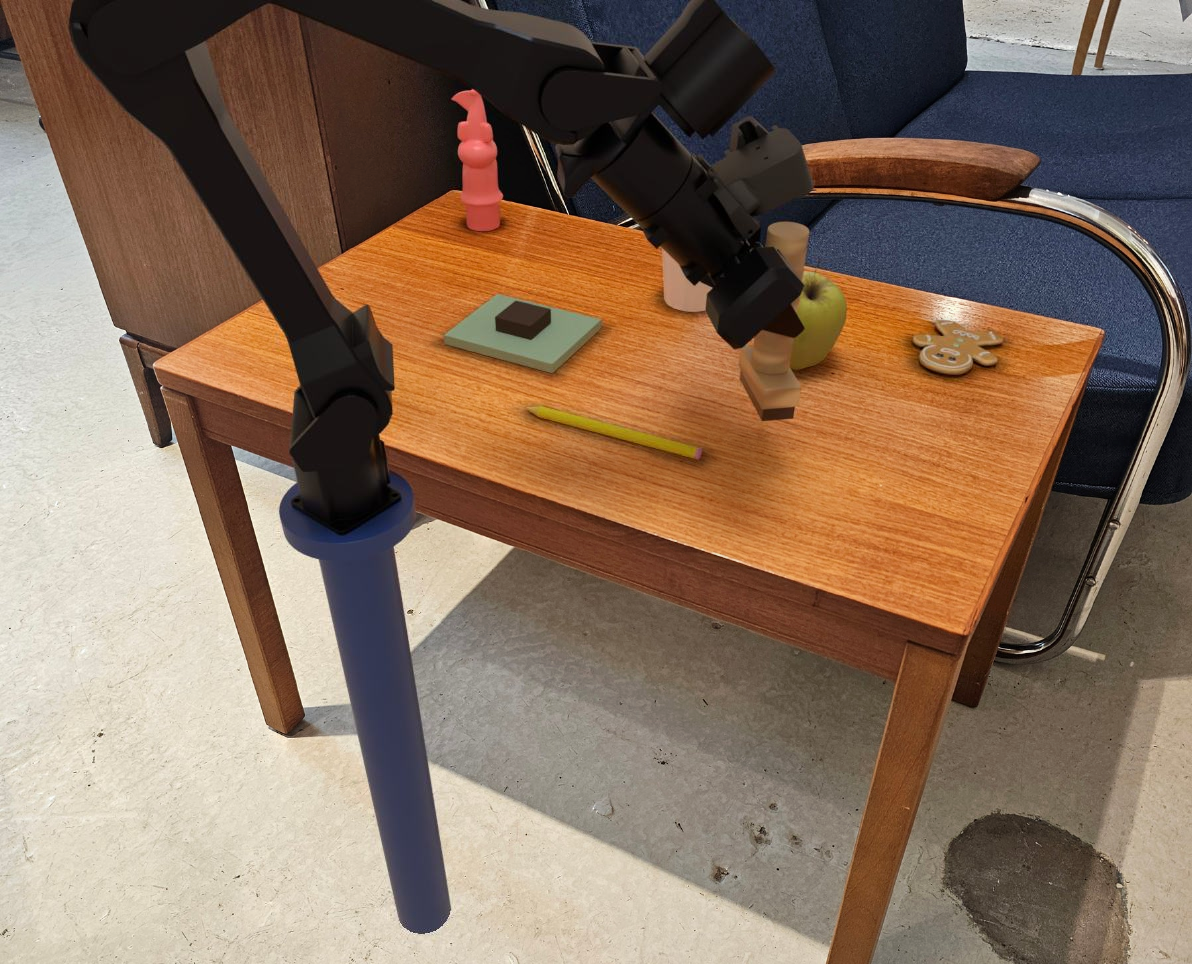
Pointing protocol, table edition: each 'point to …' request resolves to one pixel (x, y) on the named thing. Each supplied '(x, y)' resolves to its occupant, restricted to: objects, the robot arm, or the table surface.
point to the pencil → (617, 432)
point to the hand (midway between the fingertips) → (792, 322)
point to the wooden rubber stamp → (775, 340)
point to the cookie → (956, 348)
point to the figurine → (478, 165)
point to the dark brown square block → (523, 320)
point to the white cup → (682, 288)
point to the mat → (537, 353)
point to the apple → (817, 320)
